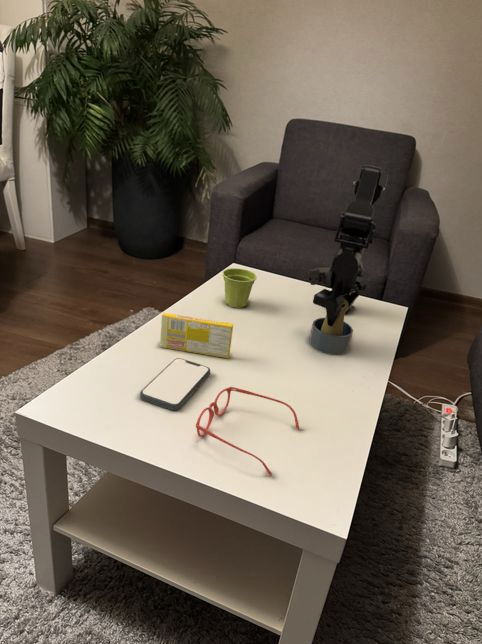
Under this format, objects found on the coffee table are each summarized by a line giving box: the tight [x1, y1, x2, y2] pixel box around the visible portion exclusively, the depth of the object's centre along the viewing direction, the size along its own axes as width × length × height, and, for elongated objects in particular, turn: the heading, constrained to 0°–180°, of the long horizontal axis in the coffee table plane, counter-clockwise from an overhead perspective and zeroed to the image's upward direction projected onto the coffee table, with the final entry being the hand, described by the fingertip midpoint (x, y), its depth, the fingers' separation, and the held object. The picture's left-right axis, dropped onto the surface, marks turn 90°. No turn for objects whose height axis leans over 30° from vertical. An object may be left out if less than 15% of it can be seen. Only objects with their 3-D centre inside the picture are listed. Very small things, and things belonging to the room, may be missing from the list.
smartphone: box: [139, 357, 211, 411], centre depth 111 cm, size 9×2×16 cm
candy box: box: [159, 312, 234, 359], centre depth 122 cm, size 16×2×8 cm, turn 84°
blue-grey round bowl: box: [308, 317, 354, 355], centre depth 135 cm, size 10×10×5 cm
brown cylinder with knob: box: [321, 299, 349, 336], centre depth 133 cm, size 6×6×11 cm
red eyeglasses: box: [195, 386, 300, 476], centre depth 99 cm, size 17×16×5 cm
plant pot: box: [221, 267, 258, 309], centre depth 148 cm, size 9×9×9 cm
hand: (333, 322), depth 134 cm, fingers closed on brown cylinder with knob, 4 cm apart
